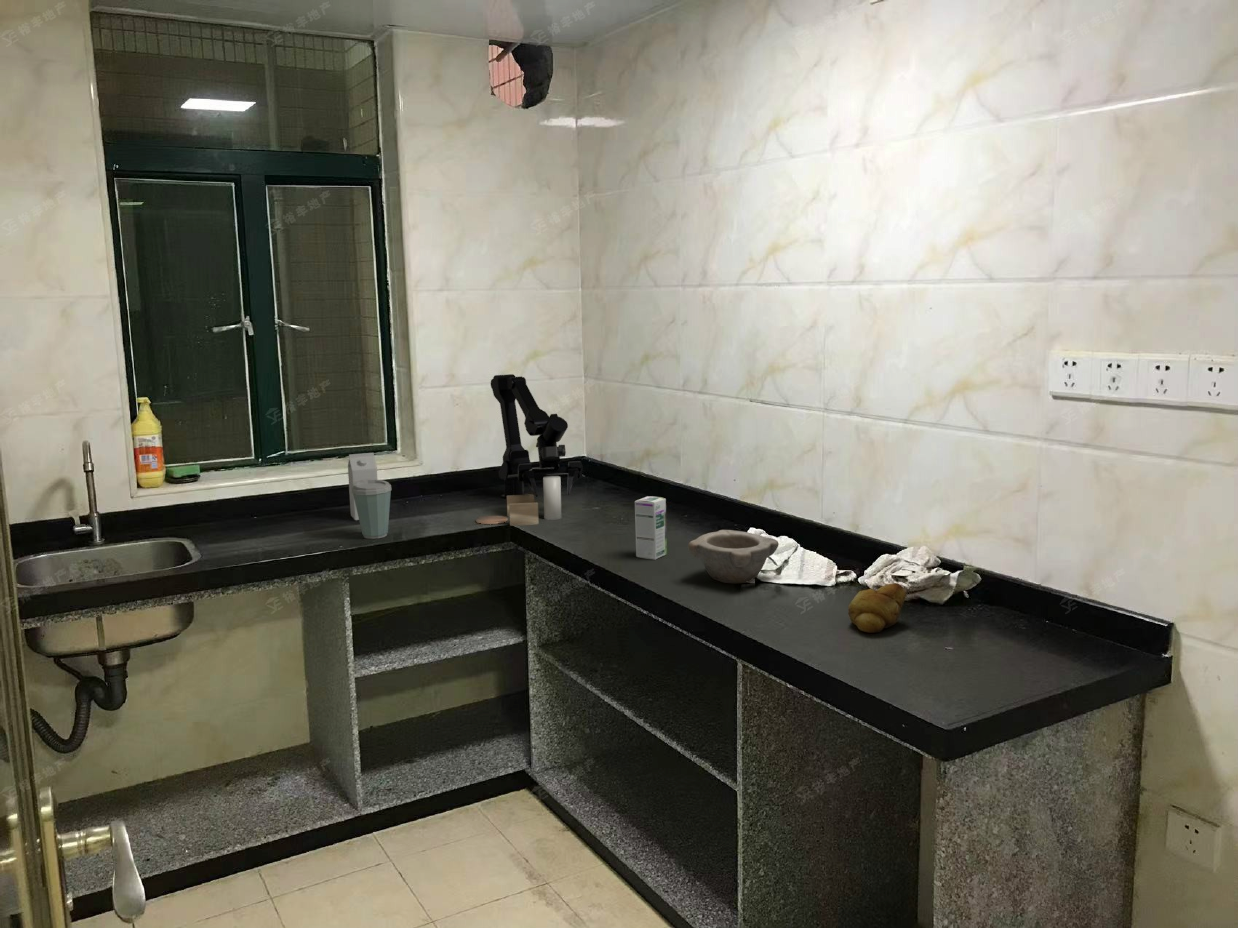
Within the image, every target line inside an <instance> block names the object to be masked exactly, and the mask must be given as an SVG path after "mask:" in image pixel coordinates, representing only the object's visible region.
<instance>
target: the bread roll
mask: <svg viewBox="0 0 1238 928" xmlns="http://www.w3.org/2000/svg"><path fill="white" fill-rule="evenodd" d="M906 594H907V591H906V589H905V588H904V587H903V586H902V585H901V584H899V583H897V582H894V583H887V584H885V585H883V586H881V587H879V588H878V589H873V588H868V589H863V590H859V591H858V592H857V593H856V594H855V596H854V597H853V599H852V600H851V601H850V603H849V605H848V607H847V608H848V609H847V610H848V616H849V619H850V621H851V622H852V623H853V624H854V625H856V627H857V629H858V630H859V631H861V632H865V633H870V634H871V633H873V634H874V633H880V632H881V631H883V629H886V628H890V627H892V626H895V624H897V622H898V621H899V615H900V614H901V609H902V608H903V605H904V602H905V601H906V596H907V595H906Z"/></svg>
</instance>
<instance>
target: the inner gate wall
mask: <svg viewBox="0 0 1238 928" xmlns="http://www.w3.org/2000/svg"><path fill="white" fill-rule="evenodd" d="M515 503H536V502H535V494H534V493H532V494H528V495H509V496H507V498H506V516H507V517H510V514H509V504H515Z"/></svg>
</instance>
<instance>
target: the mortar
mask: <svg viewBox="0 0 1238 928" xmlns="http://www.w3.org/2000/svg"><path fill="white" fill-rule="evenodd" d="M778 548H779V542H778V540H776V539H775V538H772V537H766V536H763V535H761V534H756V533H751V532H747V531H741V530H732V529H720V530H717V531H713V532H708V533H704V534H702V535H700V536H698V537H696V539H692V540H691V541H689V542H688V545H687V549H688V551H689V553H690V554H691V555H692V556H694V557H696V558H699V559H700V561H701V563H702V566H703V567H704V569H705V571H706V572H707V573H708V575H709V577H711V578H712V579H713V580H715V581H718V582H721V583H725V584H744V583H748V582H751V581H753V580H755V579H756V577H757V576H758V575H759V574H760V572H761V570H762V569H763V567H764V565H765V563H766V561H767V558H769V557H771V556H773V555H774V553H775V552H776V551H777V549H778Z"/></svg>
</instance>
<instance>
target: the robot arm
mask: <svg viewBox="0 0 1238 928" xmlns="http://www.w3.org/2000/svg"><path fill="white" fill-rule="evenodd" d="M490 388H491V390H492V394H493V397H494V398H495V400H497V402H499V405H500V406H499V407H500V414H501V418H502V427H503V433H504V440H505V450H504V453H503V455H502V464H501V466H500V468H499V469H498V478H499V479H501V480H504V484H503V488H504V489H503V494H502V495H500V498H506V499H507V496H509V495H529V493H525V490H526V489H525V485H527V486H528V487H529V488H530V489H531V492H532V494H534V497H535V498H537V497H538V488H537V483H536V480H535V476H536V475H537V476H539V475H541V476H542V475H546V476H554V475H567V483H566V484H567V485H566V486H567V488H566V493H567V496H570V493H571V490H572V486H573V484H574V483H575V482H577V481H578V480H580V479H582V477H583V470H584V468H583V467H584V466H583V463H582V462H581V461H579V460H577V461H568V464H567V466H560V465H561V457H562V458H563V457H566V453H567V452H566V445H565V444H558V445H557V443H559V442H560V441H561V439H562V438H563V436H564V434H566V433H565V432H566V431H567V430H568V428H569V427H568V426H569V425H568V422H567V421H566V419H564V418H562V417H561V416H558V414H557V413H551V414H550V415H549V414H548V413H547V412H546V411H545V410H543V409H541V408H540V407H539V406H538V404H537V402H536V400H535V397H534V396H533V394H532V391H530V389H529V387H528V384H527V380H526V378H525V377H523V376H515V374H513V373H511V374H498V375H497V374H496V375H494V376H493V378H492V379H490ZM516 401H517V404H518V405H519V407H520V409H521V411H522V413H523V415H524V426H525V431H526V433H527V434H528V435H529V436H531V437H533V436H534V437H535V436H538V437H537V439H536V443H535V444H536V445H535V447H536V448H537V452H538V461H539V462H538V463H539V467H538V466H537V467H533V463H531V459H530V452H529V450H528V449H525V447H523V446H522V440H521V432H520V426H519V418H518V411H517V404H516Z"/></svg>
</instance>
